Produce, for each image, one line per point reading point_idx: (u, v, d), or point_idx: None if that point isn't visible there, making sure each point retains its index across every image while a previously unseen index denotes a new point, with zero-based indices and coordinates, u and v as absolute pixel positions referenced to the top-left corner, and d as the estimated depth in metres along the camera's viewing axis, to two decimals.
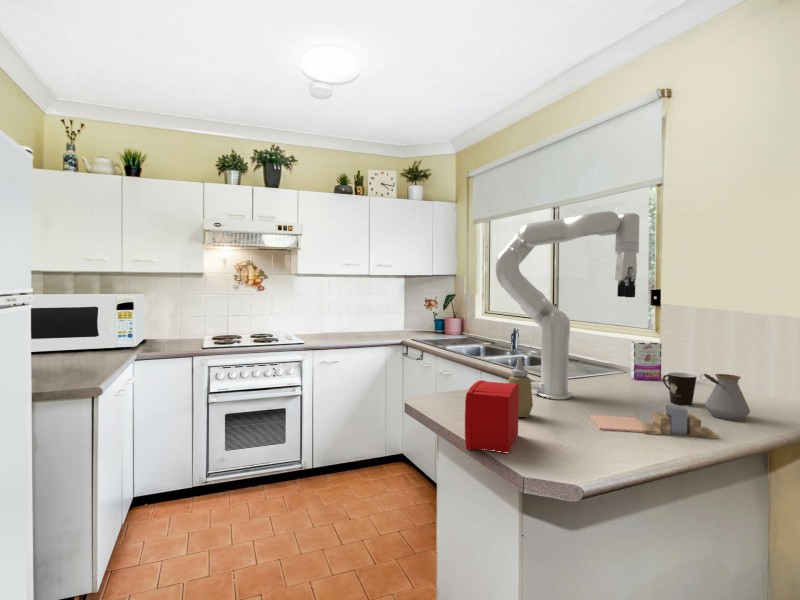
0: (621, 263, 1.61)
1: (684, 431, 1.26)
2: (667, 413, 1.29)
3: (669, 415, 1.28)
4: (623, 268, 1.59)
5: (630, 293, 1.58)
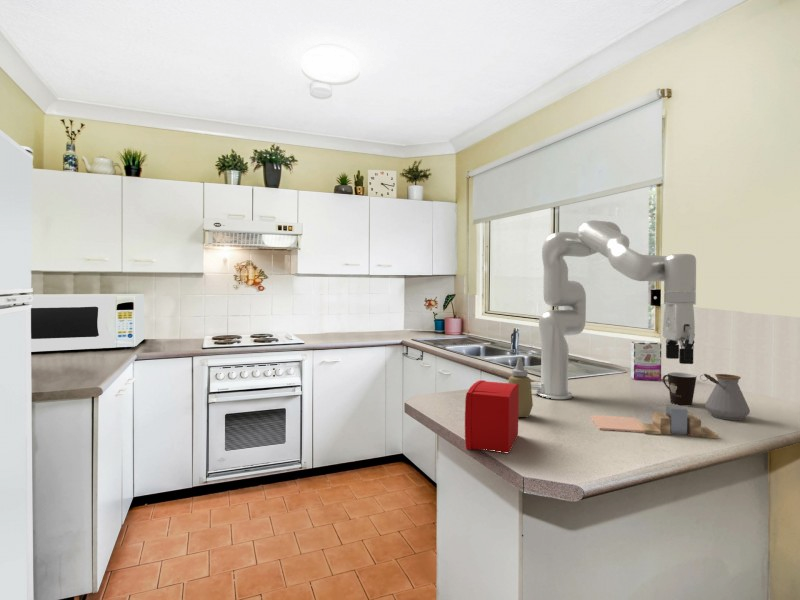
0: (674, 319, 1.24)
1: (684, 431, 1.26)
2: (667, 413, 1.29)
3: (669, 415, 1.28)
4: (677, 326, 1.23)
5: (687, 359, 1.22)
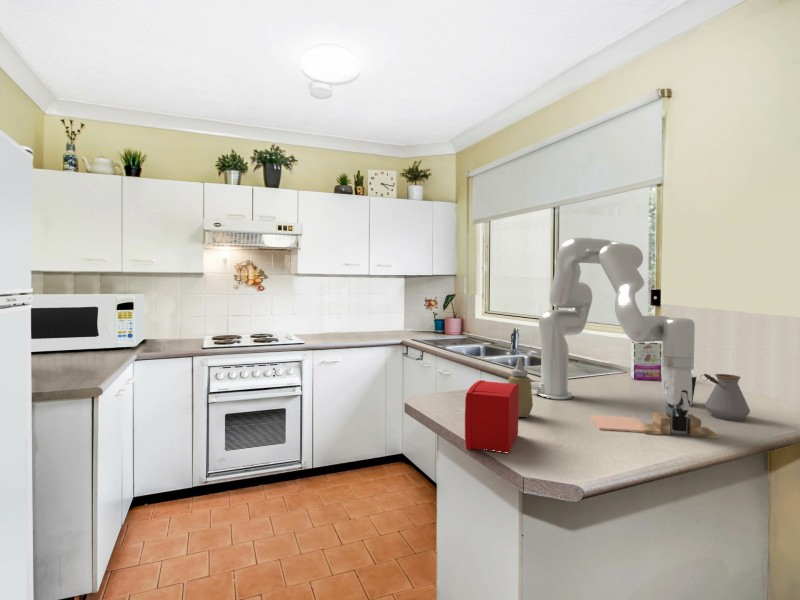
0: (671, 384, 1.25)
1: (684, 431, 1.26)
2: (667, 413, 1.29)
3: (669, 415, 1.28)
4: (675, 391, 1.23)
5: (680, 426, 1.25)
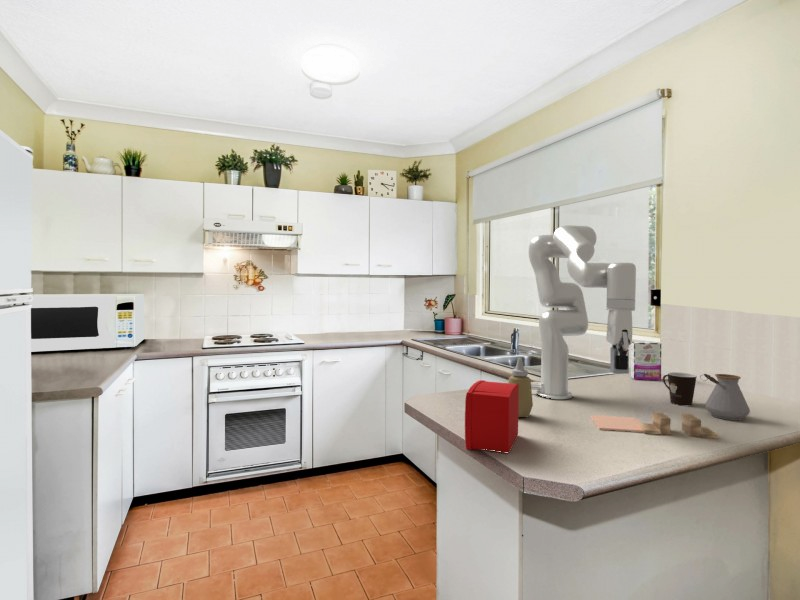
0: (613, 324, 1.31)
1: (626, 370, 1.32)
2: (611, 354, 1.36)
3: (612, 356, 1.34)
4: (616, 331, 1.30)
5: (622, 365, 1.31)
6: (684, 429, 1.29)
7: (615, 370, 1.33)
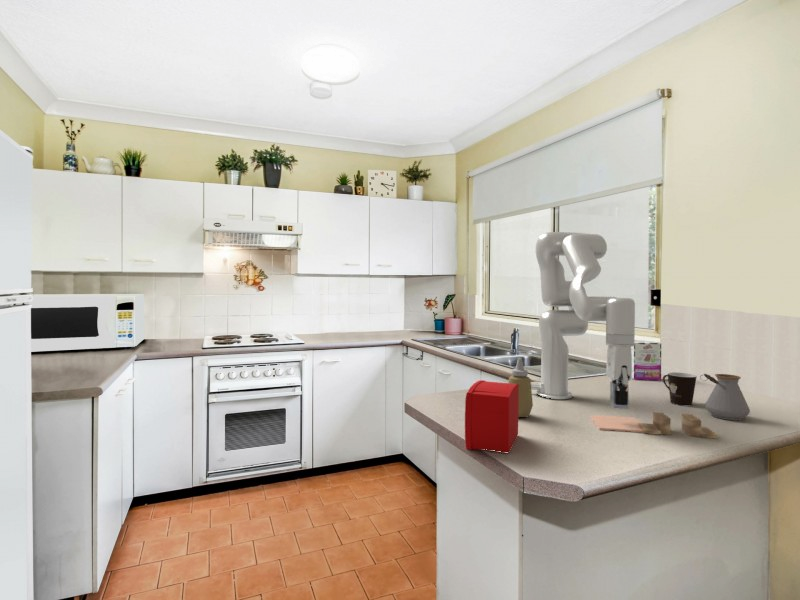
0: (613, 360, 1.31)
1: (626, 405, 1.32)
2: (611, 389, 1.36)
3: (612, 390, 1.34)
4: (615, 367, 1.30)
5: (621, 400, 1.31)
6: (684, 429, 1.29)
7: (615, 405, 1.33)
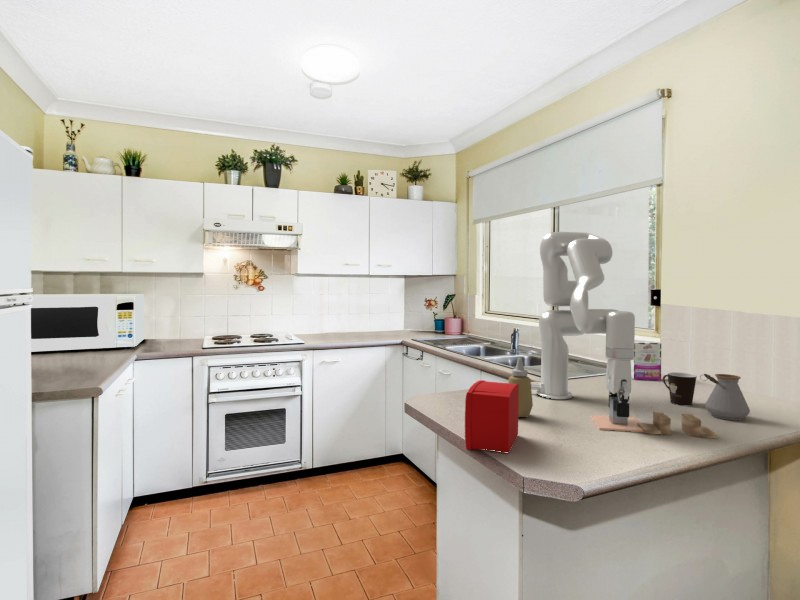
0: (612, 373, 1.31)
1: (625, 421, 1.33)
2: (610, 404, 1.36)
3: (611, 406, 1.35)
4: (615, 380, 1.30)
5: (623, 412, 1.29)
6: (684, 429, 1.29)
7: (614, 421, 1.33)
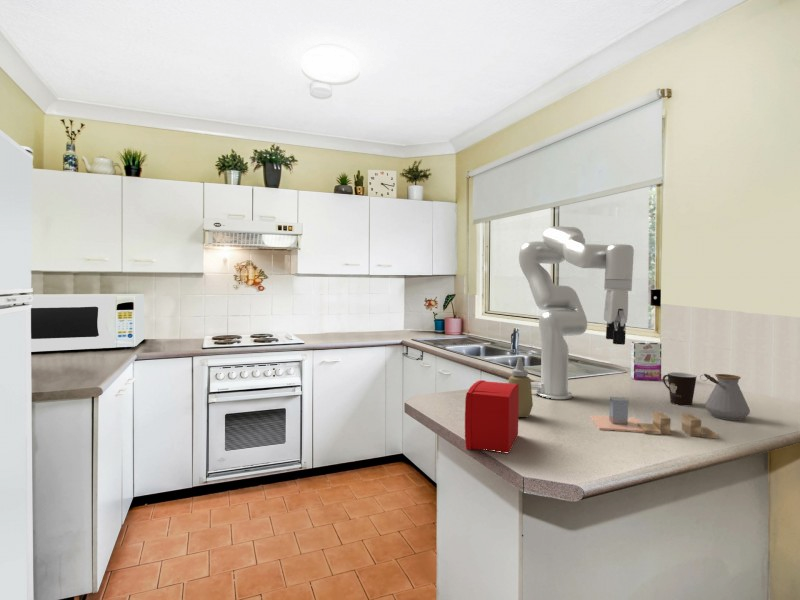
0: (610, 303, 1.37)
1: (625, 421, 1.33)
2: (610, 404, 1.36)
3: (611, 406, 1.35)
4: (612, 310, 1.36)
5: (619, 340, 1.35)
6: (684, 429, 1.29)
7: (614, 421, 1.33)
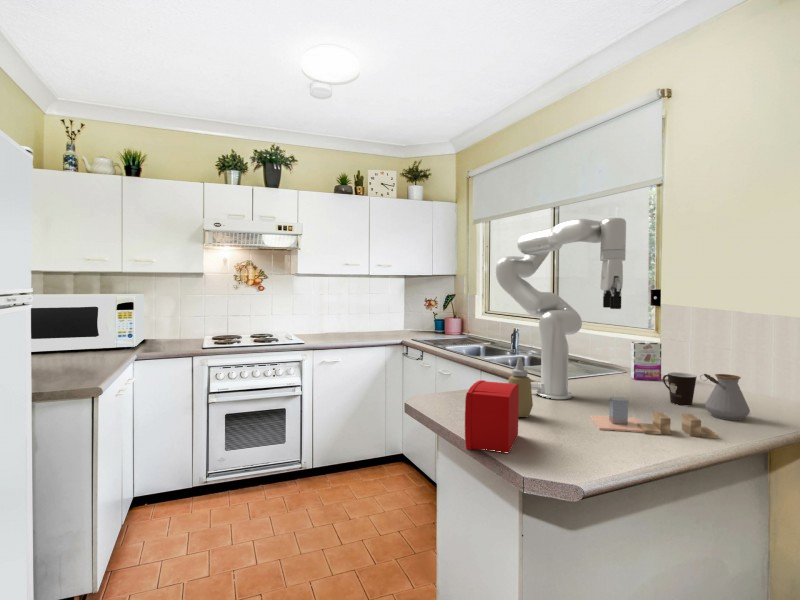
0: (606, 272, 1.49)
1: (625, 421, 1.33)
2: (610, 404, 1.36)
3: (611, 406, 1.35)
4: (608, 277, 1.47)
5: (616, 304, 1.46)
6: (684, 429, 1.29)
7: (614, 421, 1.33)
